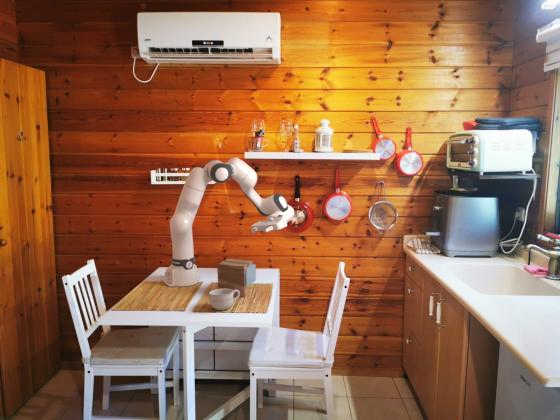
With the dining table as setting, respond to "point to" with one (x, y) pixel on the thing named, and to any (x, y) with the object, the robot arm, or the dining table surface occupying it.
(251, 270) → the case
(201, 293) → the dining table surface
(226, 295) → the teacup
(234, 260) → the dark brown box
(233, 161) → the robot arm
